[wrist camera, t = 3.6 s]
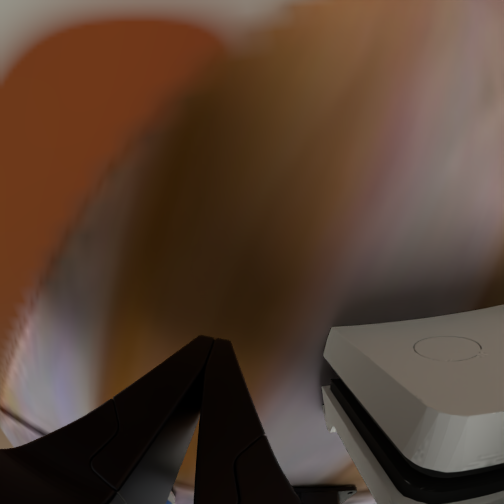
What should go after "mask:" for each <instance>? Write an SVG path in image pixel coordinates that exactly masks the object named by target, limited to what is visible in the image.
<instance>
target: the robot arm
mask: <svg viewBox="0 0 504 504" xmlns="http://www.w3.org/2000/svg"><path fill="white" fill-rule="evenodd" d="M199 417H200V421H199V433H198V445H197V459H196V473H195V489H194V504H342V503H343V502H344V501H346V500H347V499H348V498H350V497H351V496H352V495H353V494H355V493H356V492H357V489H356V487H355V486H352V487H337V488H292V486H291V485H290V483H289V481H288V480H287V478H286V476H285V475H284V473H283V471H282V469H281V468H280V466H279V464H278V462H277V459H276V457H275V455H274V453H273V451H272V449H271V446H270V444H269V441H268V439H267V437H266V435H265V432H264V429H263V427H262V424H261V422H260V419H259V417H258V414H257V412H256V409H255V406H254V404H253V401H252V399H251V396H250V393H249V391H248V388H247V385H246V382H245V380H244V377H243V374H242V371H241V369H240V366H239V363H238V360H237V358H236V355H235V352H234V349H233V346H232V343H231V341H229V340H225V339H219V338H217V339H214V338H213V337H209V336H204V335H199V336H198V337H196V338H195V339H194V340H192V341H191V342H190V343H188V344H187V345H185V346H184V347H183V348H181V349H180V350H179V351H177V352H176V353H175V354H173V355H172V356H170V357H169V358H168V359H166V360H165V361H164V362H162V363H161V364H159V365H158V366H157V367H155V368H154V369H153V370H151V371H150V372H148V373H147V374H146V375H144V376H143V377H141V378H140V379H139V380H137V381H136V382H134V383H133V384H131V385H130V386H129V387H127V388H126V389H124V390H123V391H121V392H120V393H119V394H117V395H116V396H114V397H113V399H110V400H108V401H107V402H105V403H104V404H102V405H101V406H99V407H98V408H96V409H95V410H93V411H91V412H90V413H88V414H87V415H85V416H83V417H81V418H80V419H78V420H76V421H74V422H72V423H70V424H68V425H66V426H64V427H62V428H60V429H58V430H56V431H54V432H51V433H49V434H47V435H45V436H43V437H41V438H38V439H36V440H34V441H32V442H29V443H27V444H24V445H22V446H18V447H15V448H9V449H0V504H166V502H167V500H168V497H169V494H170V492H171V489H172V487H173V484H174V482H175V479H176V477H177V474H178V472H179V469H180V466H181V464H182V461H183V459H184V456H185V454H186V451H187V448H188V446H189V443H190V441H191V438H192V435H193V433H194V430H195V428H196V425H197V422H198V420H199Z"/></svg>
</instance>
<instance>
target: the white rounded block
mask: <svg viewBox="0 0 504 504" xmlns="http://www.w3.org/2000/svg"><path fill="white" fill-rule="evenodd" d="M323 356H324V358H325V359H326V360H327V361H328V363H329V364H330V365H331V366H332V369H333V371H334V372H335V373H336V375H337V376H338V377H339V379H331V385H330V386H322V393H323V400H324V405H323V406H322V407H323V413H324V417H325V421H326V425H327V429H328V431H329V432H330V433H331V432H337V433H338V435H339V437H340V438H341V440H342V442H343V444H344V446H345V447H346V449H347V451H348V453H349V455H350V456H351V458H352V460H353V462H354V464H355V465H356V467H357V469H358V471H359V472H360V474H361V476H362V478H363V480H364V481H365V483H366V485H367V487H368V488H369V490H370V492H371V494H372V496H373V497H374V499H375V501H376V503H377V504H504V305H499V306H494V307H489V308H484V309H479V310H473V311H468V312H462V313H456V314H449V315H443V316H436V317H429V318H422V319H414V320H406V321H397V322H388V323H378V324H367V325H354V326H341V327H332V328H331V330H330V333H329V335H328V338H327V342H326V346H325V350H324V354H323Z"/></svg>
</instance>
